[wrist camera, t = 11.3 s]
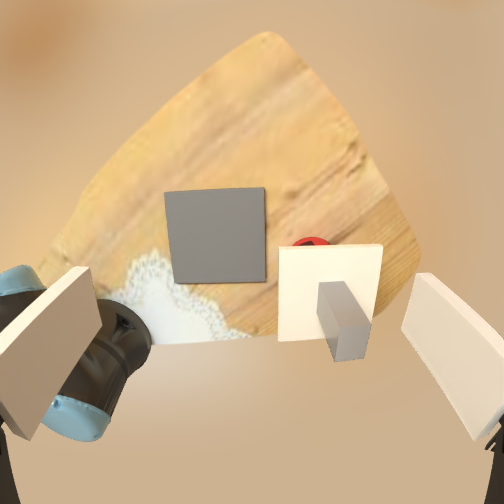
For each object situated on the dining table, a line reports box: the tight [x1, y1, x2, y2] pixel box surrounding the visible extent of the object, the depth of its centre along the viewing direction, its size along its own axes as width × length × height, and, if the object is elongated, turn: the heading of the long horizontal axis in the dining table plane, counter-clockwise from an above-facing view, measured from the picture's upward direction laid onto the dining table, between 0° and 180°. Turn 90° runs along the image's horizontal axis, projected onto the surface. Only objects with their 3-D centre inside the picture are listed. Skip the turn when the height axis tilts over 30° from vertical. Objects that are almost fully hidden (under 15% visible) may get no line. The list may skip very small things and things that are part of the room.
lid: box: [277, 244, 383, 362], centre depth 29 cm, size 12×12×10 cm
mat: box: [164, 187, 265, 283], centre depth 43 cm, size 14×14×1 cm
